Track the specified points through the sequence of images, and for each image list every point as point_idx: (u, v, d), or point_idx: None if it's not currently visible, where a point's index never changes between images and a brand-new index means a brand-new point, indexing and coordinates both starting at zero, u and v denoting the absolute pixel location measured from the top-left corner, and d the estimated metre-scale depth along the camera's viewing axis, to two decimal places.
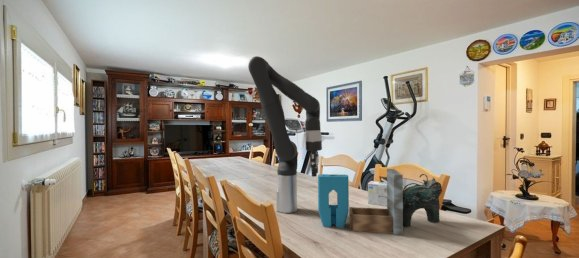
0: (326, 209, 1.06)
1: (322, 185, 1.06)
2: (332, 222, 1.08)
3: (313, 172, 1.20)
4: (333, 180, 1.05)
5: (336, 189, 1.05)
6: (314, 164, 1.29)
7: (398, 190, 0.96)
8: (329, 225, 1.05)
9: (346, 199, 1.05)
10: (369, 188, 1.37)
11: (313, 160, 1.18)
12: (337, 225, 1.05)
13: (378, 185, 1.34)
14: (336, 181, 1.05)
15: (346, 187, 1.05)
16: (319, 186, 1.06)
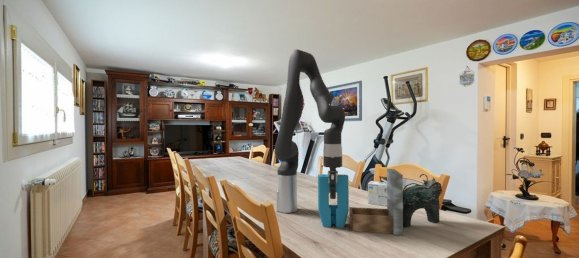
0: (326, 209, 1.06)
1: (322, 185, 1.06)
2: (332, 222, 1.08)
3: (332, 194, 1.04)
4: None
5: (336, 189, 1.05)
6: None
7: (398, 190, 0.96)
8: (329, 225, 1.05)
9: (346, 199, 1.05)
10: (369, 188, 1.37)
11: (333, 181, 1.01)
12: (337, 225, 1.05)
13: (378, 185, 1.34)
14: None
15: (346, 187, 1.05)
16: (319, 186, 1.06)
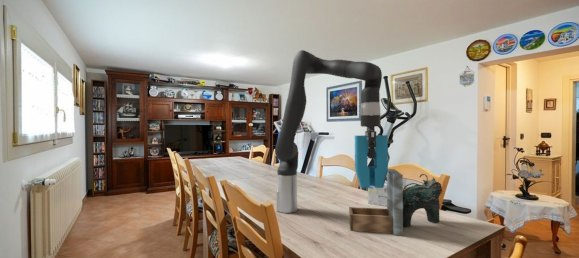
0: (365, 169, 1.03)
1: (360, 144, 1.03)
2: (370, 184, 1.06)
3: (371, 153, 1.01)
4: None
5: (375, 148, 1.02)
6: None
7: (398, 190, 0.96)
8: (368, 186, 1.03)
9: (385, 158, 1.02)
10: (369, 188, 1.37)
11: (373, 139, 0.99)
12: (376, 185, 1.02)
13: None
14: None
15: (385, 146, 1.02)
16: (357, 146, 1.03)
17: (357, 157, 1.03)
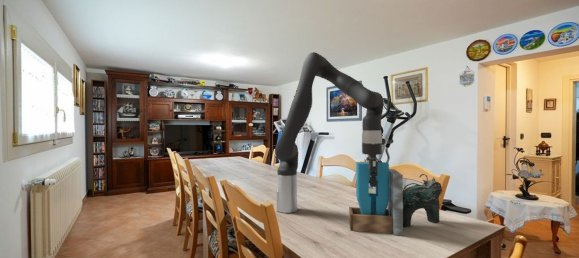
0: (366, 197, 1.03)
1: (361, 172, 1.03)
2: (371, 211, 1.06)
3: (372, 182, 1.01)
4: None
5: (376, 177, 1.02)
6: None
7: (398, 190, 0.96)
8: (369, 214, 1.03)
9: (387, 187, 1.02)
10: (369, 188, 1.37)
11: (374, 168, 0.99)
12: (377, 214, 1.02)
13: None
14: None
15: (387, 174, 1.02)
16: (358, 174, 1.03)
17: (358, 185, 1.03)
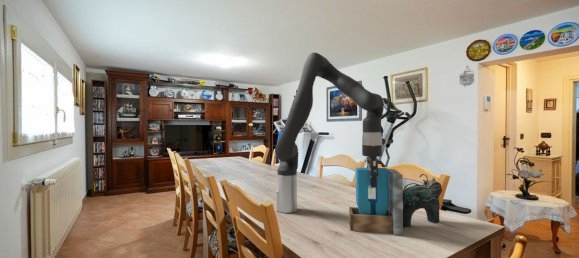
0: (366, 203, 1.03)
1: (361, 178, 1.03)
2: None
3: (373, 182, 1.00)
4: None
5: None
6: None
7: (398, 190, 0.96)
8: None
9: (386, 193, 1.02)
10: (369, 188, 1.37)
11: (375, 168, 0.98)
12: None
13: None
14: None
15: (386, 180, 1.02)
16: (358, 179, 1.03)
17: (358, 191, 1.03)
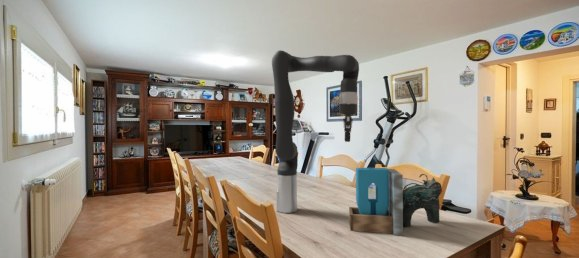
0: (366, 203, 1.03)
1: (361, 178, 1.03)
2: None
3: (347, 136, 1.09)
4: (372, 173, 1.02)
5: (376, 182, 1.02)
6: None
7: (398, 190, 0.96)
8: None
9: (386, 193, 1.02)
10: (369, 188, 1.37)
11: (348, 123, 1.08)
12: None
13: None
14: (376, 174, 1.02)
15: (386, 180, 1.02)
16: (358, 179, 1.03)
17: (358, 191, 1.03)
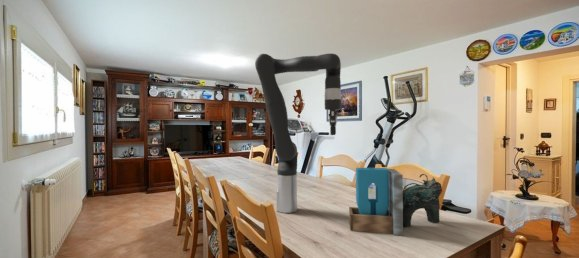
0: (366, 203, 1.03)
1: (361, 178, 1.03)
2: None
3: (332, 130, 1.16)
4: (372, 173, 1.02)
5: (376, 182, 1.02)
6: None
7: (398, 190, 0.96)
8: None
9: (386, 193, 1.02)
10: (369, 188, 1.37)
11: (333, 117, 1.14)
12: None
13: None
14: (376, 174, 1.02)
15: (386, 180, 1.02)
16: (358, 179, 1.03)
17: (358, 191, 1.03)
